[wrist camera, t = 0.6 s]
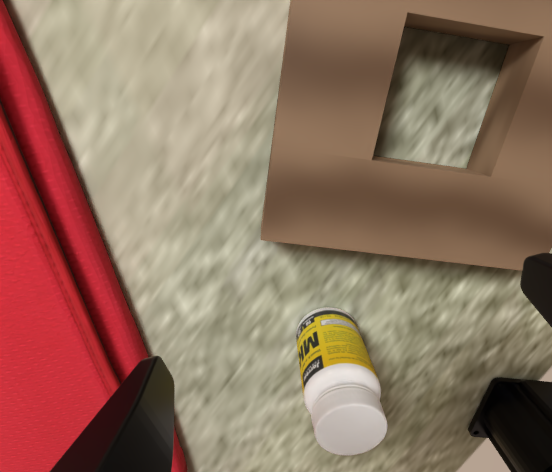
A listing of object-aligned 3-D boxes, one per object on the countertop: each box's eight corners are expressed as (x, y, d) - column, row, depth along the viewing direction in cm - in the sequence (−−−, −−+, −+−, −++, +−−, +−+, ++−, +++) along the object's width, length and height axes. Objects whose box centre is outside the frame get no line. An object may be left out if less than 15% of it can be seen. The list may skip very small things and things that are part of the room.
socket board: (512, 255, 24) (539, 272, 21) (261, 225, 22) (260, 240, 20) (651, -60, 17) (712, -85, 15) (307, -130, 16) (314, -171, 13)
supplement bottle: (302, 300, 25) (319, 392, 17) (363, 309, 25) (408, 403, 17) (289, 351, 26) (299, 456, 18) (347, 359, 27) (380, 465, 19)
